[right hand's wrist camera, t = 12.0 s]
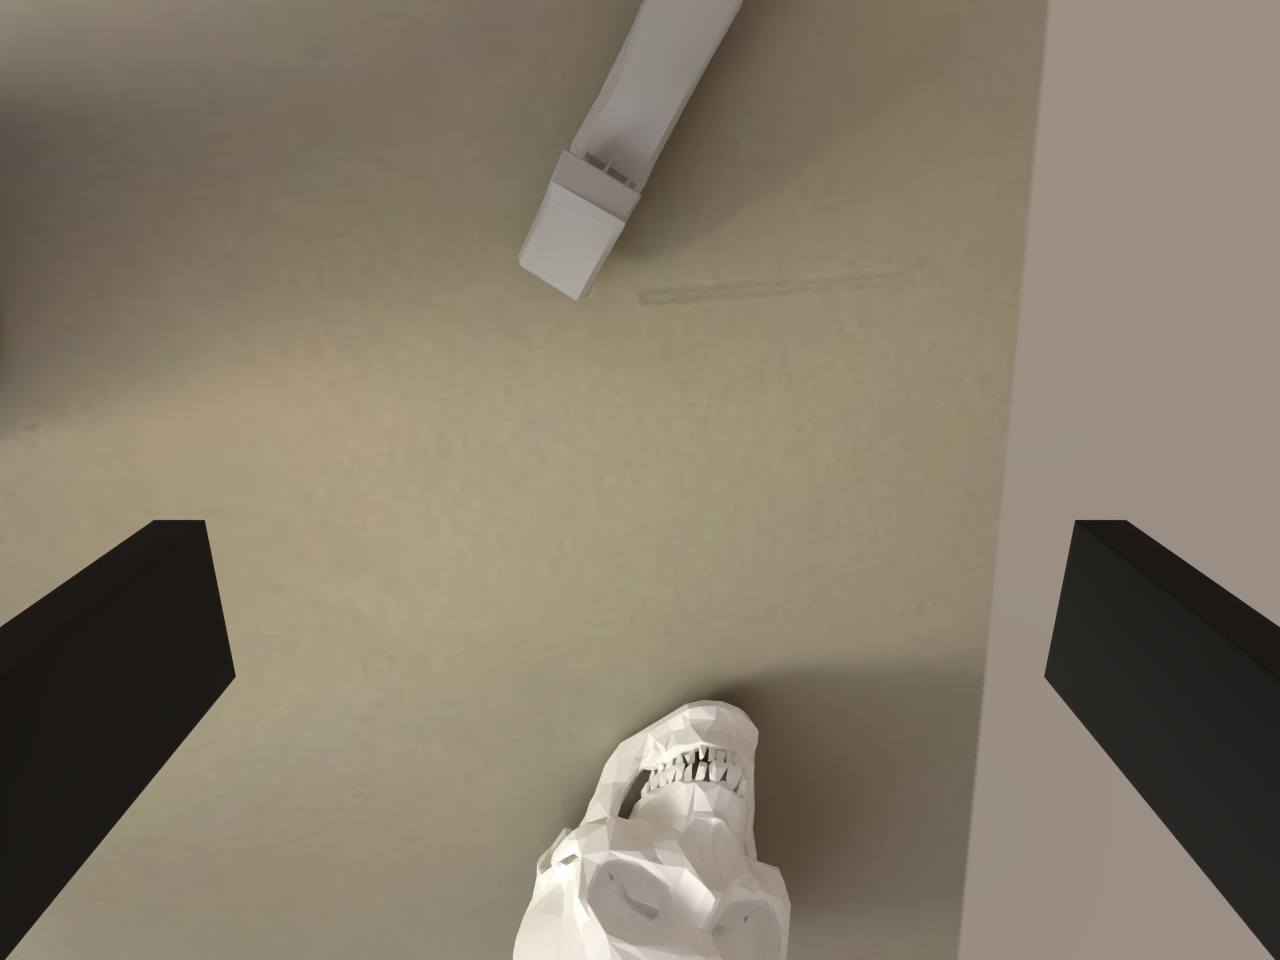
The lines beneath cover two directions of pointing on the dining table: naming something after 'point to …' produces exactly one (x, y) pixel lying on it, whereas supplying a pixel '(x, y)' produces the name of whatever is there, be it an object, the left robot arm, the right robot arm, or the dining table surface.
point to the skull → (664, 856)
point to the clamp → (622, 139)
